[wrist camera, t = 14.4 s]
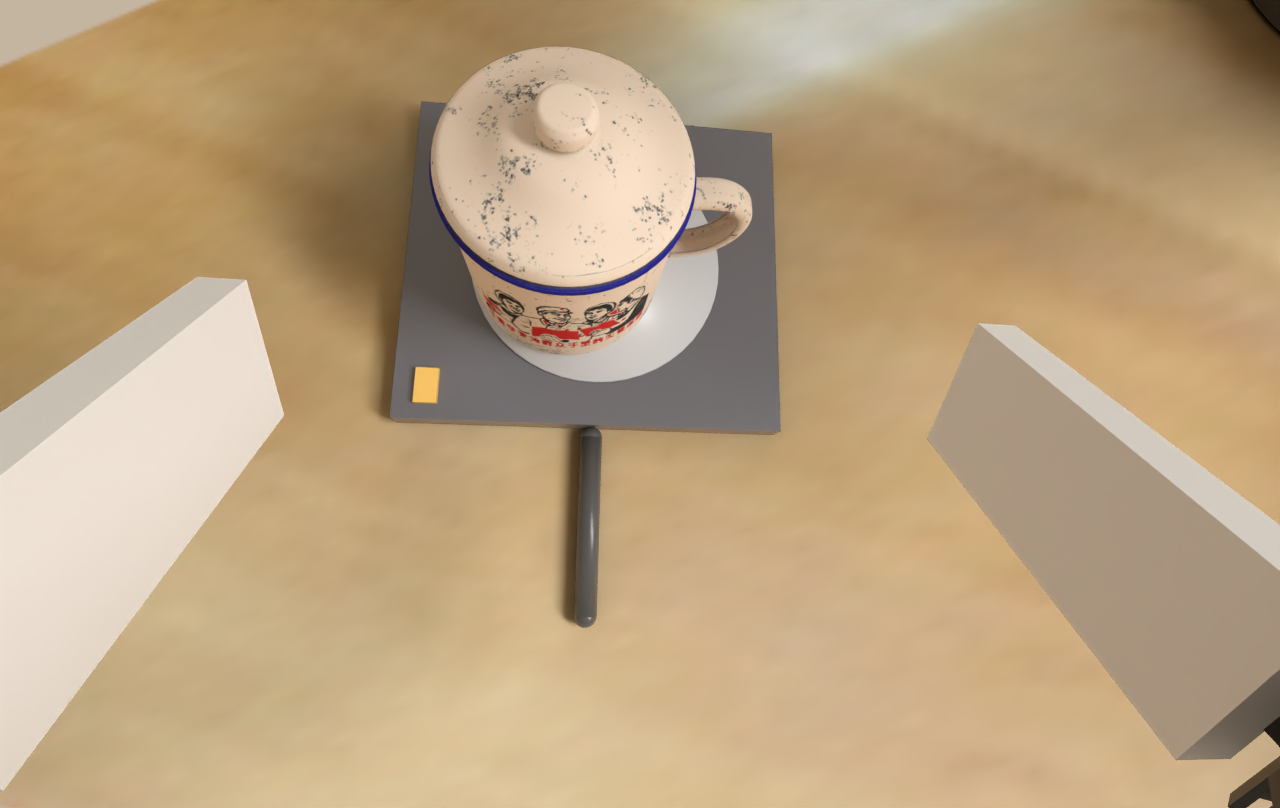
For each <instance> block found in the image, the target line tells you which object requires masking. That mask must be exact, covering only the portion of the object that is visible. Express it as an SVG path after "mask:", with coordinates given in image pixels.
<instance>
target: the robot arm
mask: <svg viewBox="0 0 1280 808" xmlns="http://www.w3.org/2000/svg"><path fill="white" fill-rule="evenodd" d="M1253 2H1254V3H1255V5H1256V6H1257V7H1258V9H1259V10H1260V11H1261V12H1262V14H1263V15H1264V16H1265V17H1266V18H1267V19H1268V20H1269V22H1270V23H1271V24H1272V25H1273V26H1274V27H1275V28H1277V29H1278V30H1279V31H1280V0H1253ZM283 416H284V413H283V409H282V406H281V402H280V399H279V395H278V392H277V388H276V384H275V381H274V377H273V374H272V370H271V366H270V363H269V359H268V356H267V352H266V349H265V345H264V341H263V338H262V334H261V331H260V327H259V323H258V320H257V316H256V313H255V309H254V306H253V302H252V298H251V295H250V291H249V288H248V284H247V280H244V279H227V278H210V277H196V278H195V279H193V280H192V281H190V282H189V283H187V284H186V285H184V286H183V287H181V288H180V289H179V290H177V291H176V292H174V293H173V294H171V295H170V296H168V297H167V298H166V299H164V300H163V301H161V302H160V303H158V304H157V305H155V306H154V307H152V308H151V309H150V310H148V311H147V312H145V313H144V314H142V315H141V316H139V317H138V318H137V319H135V320H134V321H132V322H131V323H129V324H128V325H126V326H125V327H123V328H122V329H121V330H119V331H118V332H116V333H115V334H113V335H112V336H110V337H109V338H108V339H106V340H105V341H103V342H102V343H100V344H99V345H97V346H96V347H94V348H93V349H92V350H90V351H89V352H87V353H86V354H84V355H83V356H81V357H80V358H79V359H77V360H76V361H74V362H73V363H71V364H70V365H68V366H67V367H65V368H64V369H63V370H61V371H60V372H58V373H57V374H55V375H54V376H52V377H51V378H50V379H48V380H47V381H45V382H44V383H42V384H41V385H39V386H38V387H36V388H35V389H34V390H32V391H31V392H29V393H28V394H26V395H25V396H23V397H22V398H21V399H19V400H18V401H16V402H15V403H13V404H12V405H10V406H9V407H7V408H6V409H5V410H3V411H2V412H0V791H4V789H5V788H6V787H7V785H8V784H9V783H10V781H11V780H12V779H13V777H14V776H15V775H16V773H17V772H18V771H19V769H20V768H21V767H22V765H23V764H24V763H25V761H26V760H27V759H28V757H29V756H30V755H31V753H32V752H33V751H34V749H35V748H36V747H37V745H38V744H39V742H40V741H41V740H42V738H43V737H44V736H45V734H46V733H47V732H48V730H49V729H50V728H51V726H52V725H53V724H54V722H55V721H56V720H57V718H58V717H59V716H60V714H61V713H62V712H63V710H64V709H65V708H66V706H67V705H68V704H69V702H70V701H71V700H72V698H73V697H74V696H75V694H76V693H77V692H78V690H79V689H80V688H81V686H82V685H83V684H84V682H85V681H86V680H87V678H88V677H89V676H90V674H91V673H92V672H93V670H94V669H95V668H96V666H97V665H98V664H99V662H100V661H101V660H102V658H103V657H104V656H105V654H106V653H107V652H108V650H109V649H110V648H111V646H112V645H113V644H114V642H115V641H116V640H117V638H118V637H119V636H120V634H121V633H122V631H123V630H124V629H125V627H126V626H127V625H128V623H129V622H130V621H131V619H132V618H133V617H134V615H135V614H136V613H137V611H138V610H139V609H140V607H141V606H142V605H143V603H144V602H145V601H146V599H147V598H148V597H149V595H150V594H151V593H152V591H153V590H154V589H155V587H156V586H157V585H158V583H159V582H160V581H161V579H162V578H163V577H164V575H165V574H166V573H167V571H168V570H169V569H170V567H171V566H172V565H173V563H174V562H175V561H176V559H177V558H178V557H179V555H180V554H181V553H182V551H183V550H184V549H185V547H186V546H187V545H188V543H189V542H190V541H191V539H192V538H193V537H194V535H195V534H196V533H197V531H198V530H199V529H200V527H201V526H202V525H203V523H204V522H205V520H206V519H207V518H208V516H209V515H210V514H211V512H212V511H213V510H214V508H215V507H216V506H217V504H218V503H219V502H220V500H221V499H222V498H223V496H224V495H225V494H226V492H227V491H228V490H229V488H230V487H231V486H232V484H233V483H234V482H235V480H236V479H237V478H238V476H239V475H240V474H241V472H242V471H243V470H244V468H245V467H246V466H247V464H248V463H249V462H250V460H251V459H252V458H253V456H254V455H255V454H256V452H257V451H258V450H259V448H260V447H261V446H262V444H263V443H264V442H265V440H266V439H267V438H268V436H269V435H270V434H271V432H272V431H273V430H274V428H275V427H276V426H277V424H278V423H279V422H280V420H281V419H282V418H283ZM927 440H928V441H929V442H930V444H931V445H932V446H933V448H934V449H935V450H936V451H937V453H938V454H939V455H940V457H941V458H942V459H943V460H944V462H945V463H946V464H947V466H948V467H949V468H950V469H951V471H952V472H953V473H954V475H955V476H956V477H957V478H958V480H959V481H960V482H961V484H962V485H963V486H964V488H965V489H966V490H967V491H968V493H969V494H970V495H971V497H972V498H973V499H974V500H975V502H976V503H977V504H978V506H979V507H980V508H981V509H982V511H983V512H984V513H985V515H986V516H987V517H988V518H989V520H990V521H991V522H992V524H993V525H994V526H995V528H996V529H997V530H998V531H999V533H1000V534H1001V535H1002V537H1003V538H1004V539H1005V540H1006V542H1007V543H1008V544H1009V546H1010V547H1011V548H1012V549H1013V551H1014V552H1015V553H1016V555H1017V556H1018V557H1019V558H1020V560H1021V561H1022V562H1023V564H1024V565H1025V566H1026V568H1027V569H1028V570H1029V571H1030V573H1031V574H1032V575H1033V577H1034V578H1035V579H1036V580H1037V582H1038V583H1039V584H1040V586H1041V587H1042V588H1043V589H1044V591H1045V592H1046V593H1047V595H1048V596H1049V597H1050V598H1051V600H1052V601H1053V602H1054V604H1055V605H1056V606H1057V607H1058V609H1059V610H1060V611H1061V613H1062V614H1063V615H1064V617H1065V618H1066V619H1067V620H1068V622H1069V623H1070V624H1071V626H1072V627H1073V628H1074V629H1075V631H1076V632H1077V633H1078V635H1079V636H1080V637H1081V638H1082V640H1083V641H1084V642H1085V644H1086V645H1087V646H1088V647H1089V649H1090V650H1091V651H1092V653H1093V654H1094V655H1095V657H1096V658H1097V659H1098V660H1099V662H1100V663H1101V664H1102V666H1103V667H1104V668H1105V669H1106V671H1107V672H1108V673H1109V675H1110V676H1111V677H1112V678H1113V680H1114V681H1115V682H1116V684H1117V685H1118V686H1119V687H1120V689H1121V690H1122V691H1123V693H1124V694H1125V695H1126V697H1127V698H1128V699H1129V700H1130V702H1131V703H1132V704H1133V706H1134V707H1135V708H1136V709H1137V711H1138V712H1139V713H1140V715H1141V716H1142V717H1143V718H1144V720H1145V721H1146V722H1147V724H1148V725H1149V726H1150V727H1151V729H1152V730H1153V731H1154V733H1155V734H1156V735H1157V736H1158V738H1159V739H1160V740H1161V742H1162V743H1163V744H1164V746H1165V747H1166V748H1167V749H1168V751H1169V752H1170V753H1171V755H1172V756H1173V757H1174V758H1175V760H1198V759H1231V758H1232V757H1233V756H1234V755H1236V754H1237V753H1238V752H1239V751H1241V750H1242V749H1243V748H1244V747H1245V746H1247V745H1248V744H1249V743H1250V742H1252V741H1253V740H1254V739H1255V738H1257V737H1258V736H1259V735H1260V734H1262V733H1263V732H1264V731H1265V732H1266V733H1267V734H1268V735H1269V736H1270V737H1271V738H1272V739H1273V740H1274V741H1275V742H1276V744H1277V745H1278V746H1279V747H1280V525H1279V524H1278V523H1276V522H1275V521H1274V520H1272V519H1271V518H1270V517H1268V516H1267V515H1266V514H1264V513H1263V512H1262V511H1260V510H1259V509H1258V508H1257V507H1255V506H1254V505H1253V504H1251V503H1250V502H1249V501H1247V500H1246V499H1245V498H1243V497H1242V496H1241V495H1239V494H1238V493H1237V492H1235V491H1234V490H1233V489H1231V488H1230V487H1229V486H1227V485H1226V484H1225V483H1223V482H1222V481H1221V480H1219V479H1218V478H1217V477H1215V476H1214V475H1213V474H1211V473H1210V472H1209V471H1207V470H1206V469H1205V468H1203V467H1202V466H1201V465H1199V464H1198V463H1197V462H1196V461H1194V460H1193V459H1192V458H1190V457H1189V456H1188V455H1186V454H1185V453H1184V452H1182V451H1181V450H1180V449H1178V448H1177V447H1176V446H1174V445H1173V444H1172V443H1170V442H1169V441H1168V440H1166V439H1165V438H1164V437H1162V436H1161V435H1160V434H1158V433H1157V432H1156V431H1154V430H1153V429H1152V428H1150V427H1149V426H1148V425H1146V424H1145V423H1144V422H1142V421H1141V420H1140V419H1139V418H1137V417H1136V416H1135V415H1133V414H1132V413H1131V412H1129V411H1128V410H1127V409H1125V408H1124V407H1123V406H1121V405H1120V404H1119V403H1117V402H1116V401H1115V400H1113V399H1112V398H1111V397H1109V396H1108V395H1107V394H1105V393H1104V392H1103V391H1101V390H1100V389H1099V388H1097V387H1096V386H1095V385H1093V384H1092V383H1091V382H1089V381H1088V380H1087V379H1085V378H1084V377H1083V376H1082V375H1080V374H1079V373H1078V372H1076V371H1075V370H1074V369H1072V368H1071V367H1070V366H1068V365H1067V364H1066V363H1064V362H1063V361H1062V360H1060V359H1059V358H1058V357H1056V356H1055V355H1054V354H1052V353H1051V352H1050V351H1048V350H1047V349H1046V348H1044V347H1043V346H1042V345H1040V344H1039V343H1038V342H1036V341H1035V340H1034V339H1032V338H1031V337H1030V336H1028V335H1027V334H1026V333H1024V332H1023V331H1022V330H1021V329H1019V328H1018V327H1017V326H1015V325H999V324H982V323H978V324H977V327H976V329H975V331H974V334H973V336H972V338H971V340H970V343H969V345H968V347H967V349H966V352H965V354H964V356H963V358H962V361H961V363H960V365H959V367H958V370H957V372H956V374H955V376H954V379H953V381H952V383H951V385H950V388H949V390H948V392H947V394H946V397H945V399H944V401H943V404H942V406H941V408H940V410H939V413H938V415H937V417H936V419H935V422H934V424H933V426H932V428H931V431H930V433H929V435H928V437H927ZM1259 798H1262V799H1265V800H1269V801H1272V804H1273V806H1271V807H1270V808H1280V756H1279V757H1278V758H1277V759H1275V760H1274V761H1273V762H1271V763H1270V764H1269V765H1267V766H1266V767H1265V768H1264V769H1262V770H1261V771H1260V772H1258V773H1257V774H1256V775H1254V776H1253V777H1252V778H1250V779H1249V780H1248V781H1246V782H1245V783H1244V784H1242V785H1241V786H1240V787H1238V788H1237V789H1236V790H1235V791H1233V792H1232V793H1231V794H1230V798H1229V803H1228V807H1229V808H1246V807H1248V806H1249V805H1251V804H1252V803H1253V802H1255V801H1256V800H1258V799H1259Z"/></svg>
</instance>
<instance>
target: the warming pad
mask: <svg viewBox="0 0 1280 808" xmlns="http://www.w3.org/2000/svg"><path fill="white" fill-rule="evenodd" d="M446 105H447V104H445V103H434V102H423V101H421V110H420V120H419V130H418V140H417V149H416V159H415V169H414V179H413V189H412V199H411V209H410V219H409V229H408V239H407V249H406V259H405V269H404V279H403V288H402V298H401V308H400V318H399V328H398V338H397V348H396V358H395V368H394V378H393V388H392V398H391V408H390V418H391V419H393V420H394V421H396V422H409V423H438V424H467V425H496V426H525V427H554V428H584V430H583V431H582V433H581V437H580V464H579V491H578V519H577V546H576V574H575V601H574V620H575V622H576V624H577V625H578V626H580V627H583V628H587V627H590V626H591V625H593V624H594V622H595V620H596V616H597V582H598V548H599V514H600V480H601V446H602V436H601V433H600V431H599V430H598V429H613V430H642V431H671V432H700V433H729V434H758V435H773V434H776V433H778V432H780V431H781V430H780V397H779V363H778V330H777V297H776V264H775V231H774V198H773V165H772V133H762V132H751V131H740V130H729V129H718V128H707V127H696V126H685V125H684V126H685V128H686V130H687V133H688V136H689V139H690V142H691V146H692V150H693V154H694V158H695V165H696V177H711V178H721V179H727V180H730V181H733V182H735V183H737V184H739V185H741V186H742V187H743V188H745V189H746V190H747V192H748V193H749V195H750V198H751V203H752V219H751V221H750V224H749V225H748V227H747V228H746V230H745V231H744V232H743V233H742V234H741V235H740V236H739V237H737V238H736V239H735V240H733V241H732V242H730V243H729V244H727V245H725V246H723V247H721V248H719V249H716V250H714V251H711V252H708V253H705V254H700V255H695V256H688V257H675V258H667V261H666V263H665V266H664V269H663V271H662V274H661V277H660V279H659V282H658V285H657V288H656V290H655V293H654V296H653V298H652V301H651V303H650V305H649V307H648V309H647V311H646V313H645V314H644V316H643V317H642V319H641V320H640V321H639V322H638V324H637V325H636V326H635V327H634V328H633V329H632V330H631V331H630V332H629V333H628V334H626V335H625V336H624V337H622V338H621V339H620V340H618V341H616V342H615V343H613V344H611V345H609V346H607V347H605V348H602V349H599V350H596V351H593V352H589V353H583V354H574V355H561V354H552V353H547V352H543V351H539V350H536V349H533V348H531V347H528V346H526V345H524V344H522V343H520V342H519V341H517V340H515V339H514V338H512V337H511V336H509V335H508V334H507V333H506V332H505V331H503V330H502V329H501V328H500V327H499V326H498V325H497V324H496V323H495V321H494V320H493V319H492V318H491V317H490V315H489V314H488V312H487V311H486V309H485V307H484V306H483V304H482V302H481V299H480V297H479V295H478V292H477V290H476V287H475V284H474V282H473V279H472V277H471V274H470V272H469V269H468V267H467V264H466V262H465V259H464V256H463V254H462V251H461V249H460V247H459V245H458V244H457V243H456V242H455V241H454V239H453V238H452V236H451V235H450V233H449V232H448V230H447V229H446V227H445V225H444V223H443V222H442V220H441V218H440V215H439V213H438V210H437V208H436V206H435V202H434V199H433V195H432V191H431V185H430V176H429V160H430V151H431V146H432V141H433V137H434V133H435V130H436V126H437V124H438V121H439V119H440V116H441V114H442V113H443V111H444V109H445V107H446ZM724 213H725V212H722V211H713V210H692V213H691V216H690V219H689V221H688V223H687V226H686V228H685V229H688V228H694V227H698V226H702V225H704V224H707V223H709V222H711V221H713V220H715V219H717V218H719V217H720V216H722V215H723V214H724Z"/></svg>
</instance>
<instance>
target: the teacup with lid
mask: <svg viewBox="0 0 1280 808" xmlns="http://www.w3.org/2000/svg"><path fill="white" fill-rule="evenodd" d="M429 176H430V185H431V191H432V195H433V199H434V202H435V206H436V208H437V210H438V213H439V215H440V218H441V220H442V222H443V223H444V225H445V227H446V229H447V230H448V232H449V233H450V235H451V236H452V238H453V239H454V241H455V242H456V243H457V244H458V245H459V247H460V249H461V251H462V254H463V256H464V259H465V262H466V264H467V267H468V269H469V272H470V274H471V277H472V279H473V282H474V284H475V287H476V290H477V292H478V295H479V297H480V299H481V302H482V304H483V306H484V307H485V309H486V311H487V312H488V314H489V315H490V317H491V318H492V319H493V320H494V321H495V323H496V324H497V325H498V326H499V327H500V328H501V329H502V330H503V331H505V332H506V333H507V334H508V335H509V336H511V337H512V338H514V339H515V340H517V341H519V342H520V343H522V344H524V345H526V346H528V347H531V348H533V349H536V350H539V351H543V352H547V353H552V354H561V355H574V354H583V353H589V352H593V351H596V350H599V349H602V348H605V347H607V346H609V345H611V344H613V343H615V342H616V341H618V340H620V339H621V338H622V337H624V336H625V335H626V334H628V333H629V332H630V331H631V330H632V329H633V328H634V327H635V326H636V325H637V324H638V322H639V321H640V320H641V319H642V317H643V316H644V314H645V313H646V311H647V309H648V307H649V305H650V303H651V301H652V298H653V296H654V293H655V290H656V288H657V285H658V282H659V279H660V277H661V274H662V271H663V269H664V266H665V263H666V261H667V258H675V257H688V256H695V255H700V254H705V253H708V252H711V251H714V250H716V249H719V248H721V247H723V246H725V245H727V244H729V243H730V242H732V241H733V240H735V239H736V238H737V237H739V236H740V235H741V234H742V233H743V232H744V231H745V230H746V228H747V227H748V225H749V224H750V221H751V219H752V203H751V198H750V195H749V193H748V192H747V190H746V189H745V188H743V187H742V186H741V185H739V184H737V183H735V182H733V181H730V180H727V179H721V178H711V177H696V165H695V158H694V154H693V150H692V146H691V142H690V139H689V136H688V133H687V130H686V128H685V126H684V124H683V122H682V120H681V118H680V116H679V115H678V113H677V112H676V110H675V108H674V107H673V105H672V104H671V103H670V101H669V100H668V99H667V97H666V96H665V95H664V94H663V93H662V92H661V91H660V90H659V89H658V88H657V87H656V86H655V85H654V84H653V83H652V82H651V81H650V80H649V79H647V78H646V77H645V76H643V75H642V74H641V73H639V72H638V71H636V70H635V69H633V68H632V67H630V66H628V65H626V64H625V63H623V62H621V61H619V60H616V59H614V58H612V57H610V56H607V55H604V54H601V53H598V52H594V51H590V50H586V49H580V48H574V47H561V46H560V47H539V48H533V49H527V50H523V51H519V52H516V53H512V54H510V55H507V56H504V57H502V58H500V59H498V60H496V61H494V62H491V63H490V64H488V65H487V66H485V67H483V68H482V69H480V70H479V71H478V72H476V73H475V74H474V75H472V76H471V77H470V78H469V79H468V80H467V81H466V82H465V83H464V84H463V85H462V86H461V87H460V88H459V89H458V90H457V91H456V93H455V94H454V95H453V97H452V98H451V99H450V101H449V102H448V104H447V105H446V107H445V109H444V111H443V113H442V114H441V116H440V119H439V121H438V124H437V126H436V130H435V133H434V137H433V141H432V146H431V151H430V160H429ZM692 210H713V211H722V212H725V213H724V214H723V215H722V216H720V217H719V218H717V219H715V220H713V221H711V222H709V223H707V224H704V225H702V226H698V227H694V228H688V229H685V228H686V226H687V223H688V221H689V219H690V216H691V213H692Z"/></svg>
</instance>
